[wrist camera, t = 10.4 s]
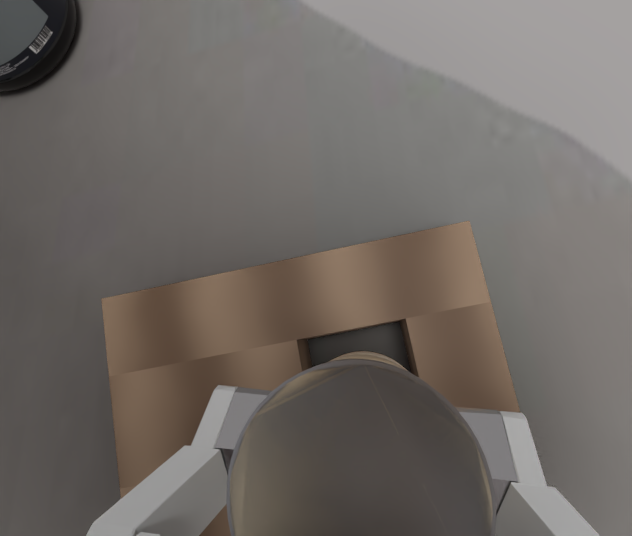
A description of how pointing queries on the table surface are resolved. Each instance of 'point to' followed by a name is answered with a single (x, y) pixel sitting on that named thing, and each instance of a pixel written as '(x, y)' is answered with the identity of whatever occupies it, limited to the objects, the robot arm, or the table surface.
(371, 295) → the socket block
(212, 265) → the table surface
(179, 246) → the table surface
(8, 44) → the supplement container
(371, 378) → the beech pin
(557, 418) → the table surface
